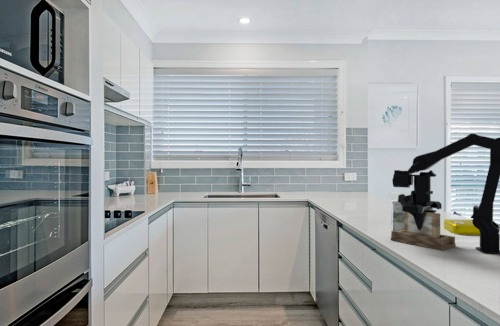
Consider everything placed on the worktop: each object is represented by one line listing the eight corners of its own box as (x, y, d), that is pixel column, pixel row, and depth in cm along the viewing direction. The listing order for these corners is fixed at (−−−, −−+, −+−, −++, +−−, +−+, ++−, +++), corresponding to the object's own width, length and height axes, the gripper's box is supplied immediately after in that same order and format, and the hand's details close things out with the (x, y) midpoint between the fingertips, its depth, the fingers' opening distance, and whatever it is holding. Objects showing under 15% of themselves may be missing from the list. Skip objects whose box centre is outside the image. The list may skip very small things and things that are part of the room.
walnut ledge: (455, 246, 131) (455, 236, 131) (442, 250, 125) (442, 240, 125) (404, 236, 147) (404, 228, 147) (390, 240, 141) (390, 231, 141)
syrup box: (405, 232, 156) (405, 199, 155) (407, 235, 150) (407, 201, 150) (391, 231, 157) (391, 199, 157) (392, 234, 151) (392, 200, 151)
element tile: (493, 236, 149) (493, 225, 149) (454, 235, 152) (454, 223, 152) (477, 229, 164) (477, 219, 164) (442, 228, 167) (442, 218, 167)
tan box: (440, 237, 132) (440, 213, 132) (435, 239, 130) (435, 214, 130) (409, 232, 142) (409, 209, 142) (404, 233, 140) (404, 210, 140)
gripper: (414, 185, 148) (414, 223, 148) (389, 188, 137) (389, 228, 137) (442, 187, 139) (442, 227, 139) (417, 190, 128) (417, 233, 128)
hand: (422, 229), depth 136 cm, fingers closed on tan box, 4 cm apart
